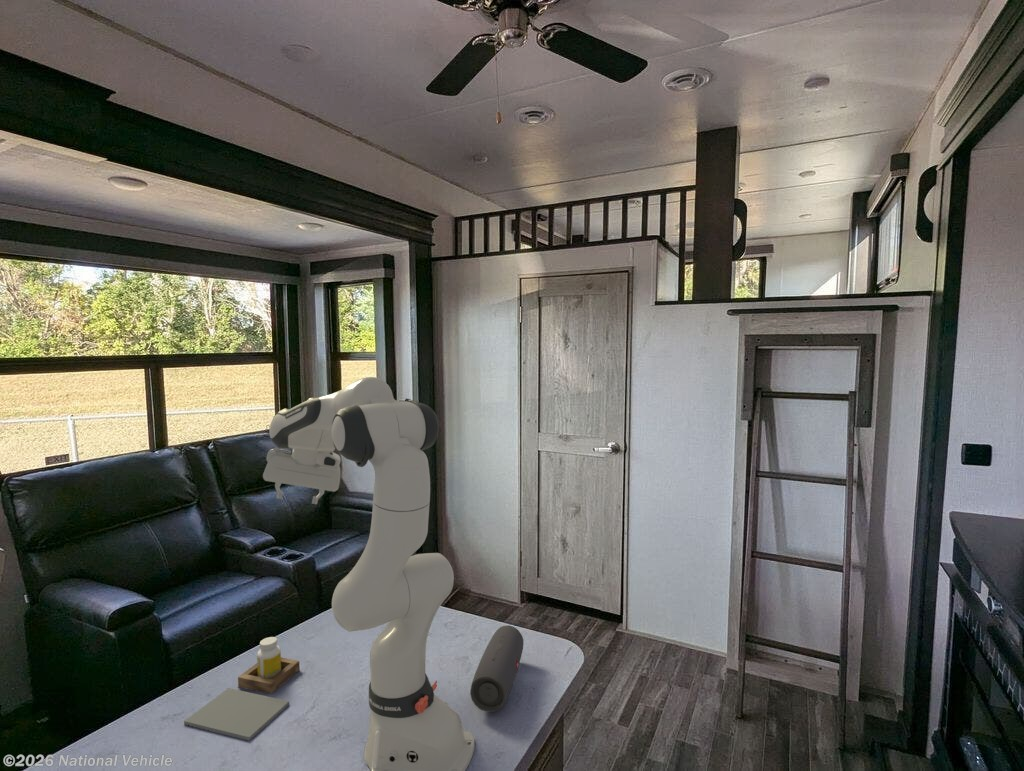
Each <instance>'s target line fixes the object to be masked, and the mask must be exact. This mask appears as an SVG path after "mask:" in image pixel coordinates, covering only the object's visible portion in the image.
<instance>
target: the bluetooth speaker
mask: <svg viewBox="0 0 1024 771" xmlns="http://www.w3.org/2000/svg"><path fill="white" fill-rule="evenodd" d="M523 650H524V637H523V635H522V633H521V632H520V631H519V629H518V628H517V627H515V626H512V625H507V624H506V625H502V626H500V627H499V628H498V629H497V630H496V631H495V632H494V634H493V635H492V637H491V639H490V640H489V641H488V644H487V646H486V647H485V650H484V652H483V653H482V656H481V658H480V660H479V663H478V666H477V668H476V671H475V674H474V677H473V678H472V682H471V686H470V698H471V700H472V703H473V704H474V705H475V707H476V708H478V709H480V710H481V711H484V712H492V713H495V712H497V711H499V710H500V709H502V708H503V706H504V705H505V703H506V702H507V699H508V698H509V695H510V691H511V689H512V687H513V684H514V681H515V679H516V676H517V673H518V671H519V670H518V669H519V666H520V662H521V659H522V655H523Z"/></svg>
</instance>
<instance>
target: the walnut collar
mask: <svg viewBox="0 0 1024 771" xmlns="http://www.w3.org/2000/svg"><path fill="white" fill-rule="evenodd" d="M299 671H300V660H297V659H291V658H287V657H286V658H285V657H282V656H281V671H280V672H279V673H278V674H276V675H275V676H274V677H273V678H271V679H267V678H262V677H258V668H257V662H256V663H255V664H254V665H253V666H251V667H249V668H248V669H247V670H245V671H244V672H243V673H242V674H240V675H239V676H237V686H238V688H241V689H247V690H252V691H255V692H261V693H266V694H270V695H272V694H273V693H274V692H276V691H277V690H279V688H280V687H281V686H283V685H284V684H285V683H286V682H288V681H289V680H290V679H291V678H292V677H294V676H295V675H296V674H297V673H298V672H299Z"/></svg>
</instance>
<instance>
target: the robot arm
mask: <svg viewBox="0 0 1024 771" xmlns="http://www.w3.org/2000/svg"><path fill="white" fill-rule="evenodd" d="M439 427H440V426H439V420H438V416H437V413H435V411H434V410H433V408H431V407H430V406H429V405H428V404H425V403H422V402H418V401H415V400H413V399H411V398H408V397H406V398H405V399H404V400H396V399H395V398H394V394H393V391H392V389H391V387H390V385H389V384H387V382H386V381H384V380H383V379H382V378H379V377H376V376H375V377H374V376H367V377H366V376H365V377H363V378H359V379H356V380H354V381H352V382H351V383H349V384H348V385H346V386H344V387H343V388H341V390H338V391H335V392H333V393H330V394H327V395H323V396H319V397H316V396H314V397H310V398H308V399H307V400H306V401H303V402H301V403H299V404H297V405H295V406H293V407H292V408H283V409H281V410H279V411H278V412H277V413H275V414H274V416H273V418H272V419H271V421H270V425H269V431H268V432H269V434H268V435H269V439H270V440H271V442H272V443H273V444H274V445H275V446H276V447H274V448H271V449H270V450H268V452H267V454H266V458H265V459H266V462H267V464H266V466H265V469H264V470H263V471H264V472H263V473H262V478H263V480H264V481H265V482H270V483H271V482H272V483H274V488H275V491H276V497H275V499H280V500H281V499H283V497H284V496H283V495H284V490H281V488H280V487H281V485H282V484H284V485H290V486H291V485H292V486H294V487H295V486H297V487H303V488H310V489H314V490H318V494H317V495H313V496H312V500H311V504H312V505H313V504H314V505H318V501H319V499H320V498H321V497H322V496H323V495H324V494H325V491H327V492H336V491H338V490H339V488H340V482H341V467H340V464H341V463H342V462H341V460H342V459H341V456H342V457H343V458H345V459H346V460H349V461H352V462H354V463H355V464H356V466H358V467H360V468H363V467H365V466H366V465H367V464H368V461H369V462H370V464H371V465H372V467H373V471H374V477H375V478H374V485H373V498H372V510H371V511H372V514H371V523H370V529H369V531H370V532H369V536H368V540H367V543H366V545H365V547H364V549H363V552H362V553H361V556H360V557H359V559H358V560H357V562H356V563H355V565H354V566H353V568H352V569H351V570H350V571H349V572H348V574H346V575H345V576H344V577H343V578H342V579H341V580H340V581H339V582H338V583H337V585H336V586H335V588H334V591H333V594H332V598H331V610H332V614H333V616H334V619H335V621H336V622H337V623H338V625H339V626H340V627H341V628H343V629H344V630H345V631H347V632H349V633H350V632H358V631H363V630H364V631H365V630H371V629H375V628H378V627H380V626H383V625H386V624H387V625H386V626H385V627H384V629H383V630H381V632H380V633H379V634H378V635H377V636H376V637H375V639H374V640H373V642H372V645H371V647H370V652H369V664H370V665H369V666H370V667H369V668H370V682H369V683H368V684H369V685H368V706H369V708H370V718H369V728H368V736H367V740H366V745H365V748H364V752H363V754H364V755H363V758H364V761H365V764H366V765H367V766H368V768H369V770H370V771H466V770H467V769H468V766H469V765H470V763H471V760H472V759H473V755H474V752H475V746H476V745H475V744H476V743H475V738H474V734H473V733H471V732H469V731H467V730H464V728H463V727H464V726H463V723H462V720H461V717H460V715H459V713H458V712H456V711H455V710H454V709H453V708H451V707H450V706H449V704H448V703H446V701H443V700H442V699H441V698H440V697H438V696H437V695H436V694H435V690H436V689H437V686H438V684H437V683H438V680H435V681H434V683H433V684H432V685H431V681H430V680H429V677H428V675H427V673H426V655H427V654H426V653H427V642H428V636H429V632H430V629H431V626H432V623H433V621H434V618H435V617H436V615H437V613H438V611H439V608H440V607H441V605H442V604H443V603H444V602H445V600H446V599H447V597H449V595H450V594H451V593H452V591H453V587H454V583H455V582H454V580H455V577H454V576H455V575H454V574H455V573H454V570H453V567H452V565H451V563H450V561H449V560H448V559H447V558H446V557H445V556H444V555H443V554H442V553H441V552H440V553H439V552H427V553H425V552H424V553H417V554H414V553H415V552H417V551H418V550H419V549H420V548H421V546H422V545H423V544H424V543H425V542H426V538H427V536H428V532H429V517H430V502H431V476H430V467H429V460H428V457H427V455H426V453H425V452H424V451H425V450H427V449H430V448H432V447H433V446H434V445H435V443H436V442H437V438H438V436H439ZM336 452H337V453H336ZM338 453H339V454H340V455H341V456H340V455H339V454H338Z"/></svg>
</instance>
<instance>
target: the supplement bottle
mask: <svg viewBox="0 0 1024 771" xmlns="http://www.w3.org/2000/svg"><path fill="white" fill-rule="evenodd" d="M281 655H282V654H281V648H280V646H279V645H278V638H277V637H274V636H269V637H265V638H263V639H262V640H260V642H259V650H258V651H257V652H256V659H257V660H256V663H257V668H258V677H262V678H267V679H271V678H273V677H274V676H275V675H276V674H278V673H279V672H280V671H281V657H282V656H281Z"/></svg>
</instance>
